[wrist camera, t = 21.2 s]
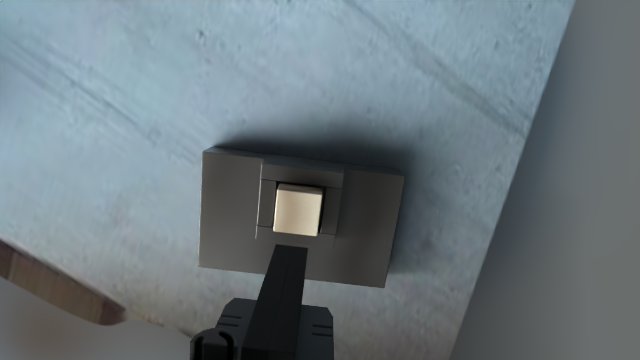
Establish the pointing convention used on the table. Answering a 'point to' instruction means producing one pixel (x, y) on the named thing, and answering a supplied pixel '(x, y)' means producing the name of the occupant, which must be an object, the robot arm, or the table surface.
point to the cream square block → (297, 209)
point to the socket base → (259, 238)
